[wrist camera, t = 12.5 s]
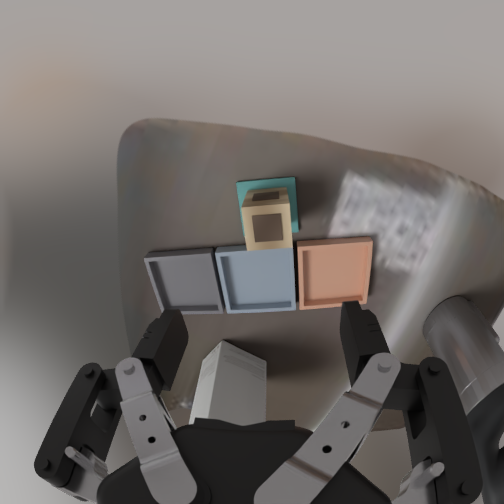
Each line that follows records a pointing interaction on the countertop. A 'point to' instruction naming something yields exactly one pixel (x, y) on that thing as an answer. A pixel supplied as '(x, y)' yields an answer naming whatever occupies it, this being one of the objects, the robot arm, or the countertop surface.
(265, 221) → the letter block
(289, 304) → the dish slate
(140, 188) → the countertop surface
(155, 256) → the dish charcoal
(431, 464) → the robot arm
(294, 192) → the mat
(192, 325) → the countertop surface
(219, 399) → the skincare box
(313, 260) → the dish terracotta
